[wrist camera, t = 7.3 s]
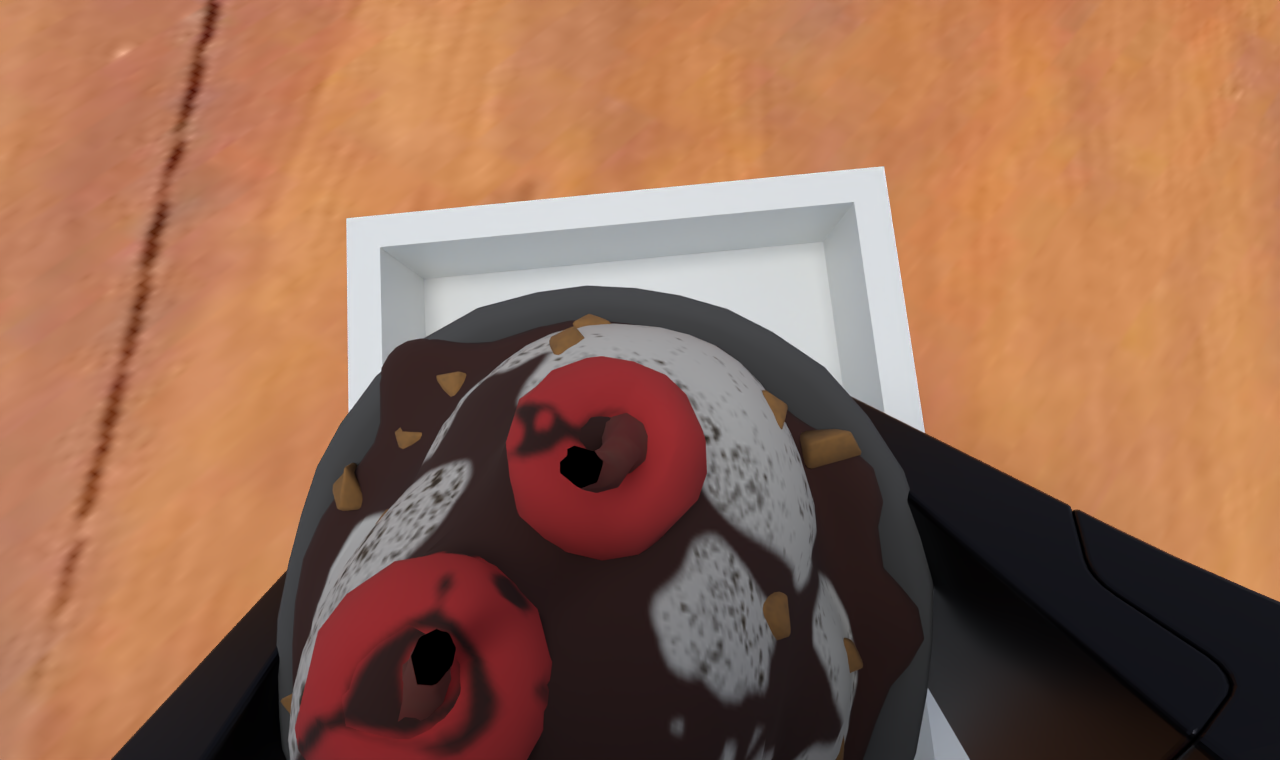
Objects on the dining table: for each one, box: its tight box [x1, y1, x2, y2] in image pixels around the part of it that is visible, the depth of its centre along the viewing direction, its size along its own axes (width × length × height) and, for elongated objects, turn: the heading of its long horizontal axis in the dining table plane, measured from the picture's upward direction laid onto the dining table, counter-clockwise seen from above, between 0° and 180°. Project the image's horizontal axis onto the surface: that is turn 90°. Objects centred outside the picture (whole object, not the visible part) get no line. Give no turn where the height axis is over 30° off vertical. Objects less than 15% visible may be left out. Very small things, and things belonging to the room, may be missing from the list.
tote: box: [346, 166, 970, 760], centre depth 17 cm, size 18×16×4 cm
